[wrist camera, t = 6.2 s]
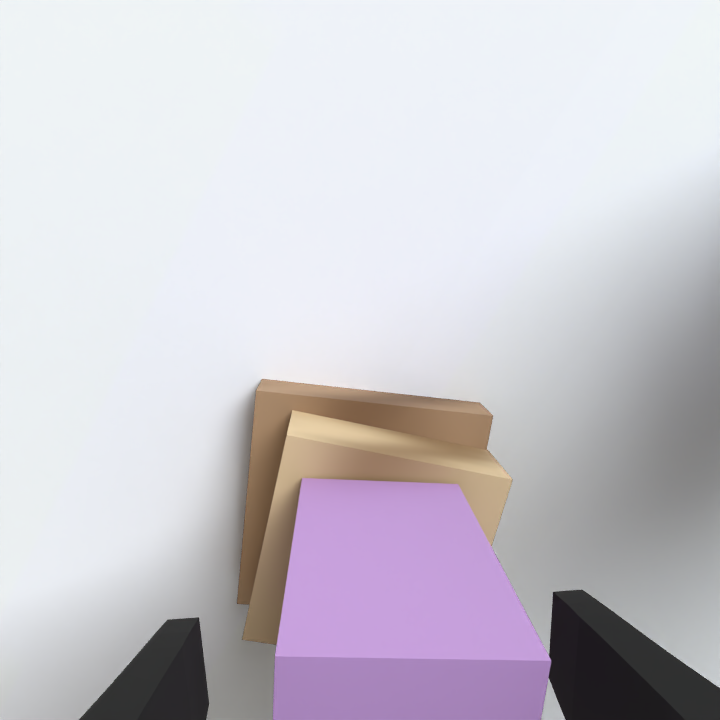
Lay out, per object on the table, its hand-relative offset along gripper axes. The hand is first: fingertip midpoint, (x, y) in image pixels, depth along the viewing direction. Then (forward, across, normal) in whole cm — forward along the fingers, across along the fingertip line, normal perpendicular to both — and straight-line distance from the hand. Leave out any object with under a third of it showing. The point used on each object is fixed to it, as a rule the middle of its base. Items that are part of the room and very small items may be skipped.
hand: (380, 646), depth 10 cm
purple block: (+3, 0, 0) cm, 3 cm away
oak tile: (+5, 0, 0) cm, 5 cm away
